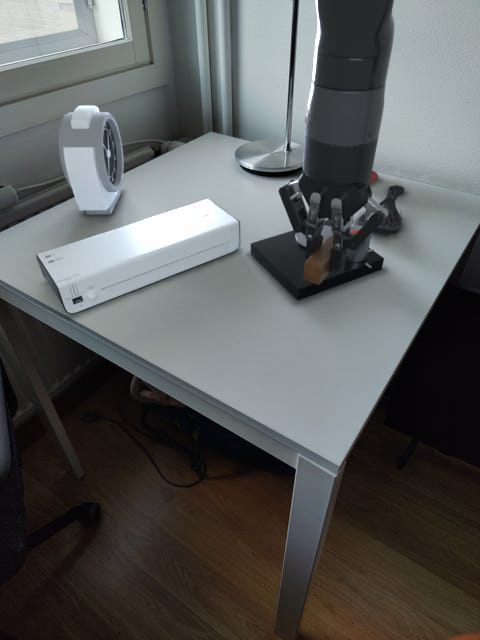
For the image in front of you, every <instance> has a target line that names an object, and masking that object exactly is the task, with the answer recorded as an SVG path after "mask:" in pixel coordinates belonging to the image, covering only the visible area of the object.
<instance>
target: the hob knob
mask: <svg viewBox="0 0 480 640" xmlns="http://www.w3.org/2000/svg"><path fill="white" fill-rule="evenodd" d="M362 227H363V226H358V225H351V234H357V232H358V231H359V230H360V229H361V228H362ZM372 234H373V232H372V233H371V234H370V235H369V236H368V237H367V238H366V242H365V244H364V245H363V246H362V247H361V249H360V250H359V251H358V252H357V253H356V255H355V256H354V257H353V258H352V259H351V260H349V261H351V262H363V261H365V260H366V259H367V255H368V250H369V248H370V245H371V239H372V236H373V235H372ZM347 260H348V259H347Z"/></svg>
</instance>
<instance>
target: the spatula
mask: <svg viewBox="0 0 480 640" xmlns="http://www.w3.org/2000/svg"><path fill="white" fill-rule="evenodd" d="M365 242H366V240H365V241H364V242H363V243H362V244H361V245H360V246H359V247H358V248H357V249H356V250H350V249H347V253H346V259H348V260H351V259H352V258H353V257H354V256H355V255H356V253H357V252H358V251H359V250H360V249H361V247H362V246H363V245H364V244H365ZM332 247H333V235H332V236H331V237H329V238H328V239H327V240H326V241H325V242H324V243H323V244H322V245H321V246H320V247H319V248H318V249H317V251H316V252H315V253H313V254H312V256H311V257H310V258H309V259H308V260H307V261H306V262H305V267H304V277H303V279H304V280H307V281H309V282H312V283H315V284H318V285H319V284H320V283H321V282H322V281H323V280H324V279H325V278H326V276H327V275H328V274H329V272H328V271H329V264H330V253H331V248H332Z"/></svg>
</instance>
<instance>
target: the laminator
mask: <svg viewBox="0 0 480 640" xmlns="http://www.w3.org/2000/svg"><path fill="white" fill-rule="evenodd" d="M240 246H241V221H240V220H239V219H238V218H236V217H235V216H233V215H232V214H231V213H229V212H228V211H227V210H225V209H224V208H223V207H221V206H220V205H218V204H217V203H215V202H214V201H213V200H211V199H210V198H207V199H204V200H200V201H199V202H194V203H192V204H188V205H186V206H183V207H179V208H177V209H173V210H170V211H167V212H164V213H161V214H158V215H153V216H152V217H148V218H145V219H142V220H139V221H136V222H133V223H129V224H127V225H124V226H120V227H116V228H114V229H112V230H107V231H105V232H102V233H99V234H96V235H93V236H90V237H87V238H82V239H80V240H77V241H74V242H71V243H68V244H64V245H61V246H59V247H55V248H52V249H49V250H46V251H43V252H40V253H37V254H35V258H36V260H37V263H38V266H39V268H40V272H41V274H42V276H43V278H44V279H45V280H46V281H47V283H48V285H49V286H50V288H51V289H52V291H53V294H55V296H56V297H57V299H58V301H59V302H60V304H61V306H62V308H63V310H64V312H65V313H66V314H69V315H76V314H79V313H82V312H84V311H87V310H90V309H93V308H94V307H97V306H99V305H102V304H105V303H107V302H110V301H113V300H115V299H118V298H120V297H123V296H125V295H128V294H130V293H133V292H135V291H139V290H141V289H143V288H147V287H149V286H151V285H154V284H156V283H158V282H161V281H164V280H167V279H169V278H171V277H174V276H177V275H180V274H181V273H185V272H187V271H190V270H192V269H194V268H198V267H200V266H202V265H205V264H209V263H210V262H213V261H215V260H218V259H220V258H223V257H225V256H229V255H231V254H233V253H235V252H236V251H238V250H239V248H240Z"/></svg>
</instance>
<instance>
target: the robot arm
mask: <svg viewBox="0 0 480 640" xmlns="http://www.w3.org/2000/svg"><path fill="white" fill-rule="evenodd" d="M394 3H395V0H315V9H316V17H317V30H316V38H315V44H314V52H313V53H314V54H313V67H312V77H311V79H312V80H311V86H310V87H311V88H310V90H309V95H308V96H309V97H308V100H307V107H306V108H307V109H306V114H305V119H304V120H305V121H304V122H305V131H304V143H303V154H302V155H303V156H302V166H301V167H302V173H301V175H300V177H298V180H294V179H289V180H288V181H287V182H285V183H284V184H283V185H281V187H279V189H278V195H279V197H280V200H281V202H282V204H283V207H284V210H285V212H286V216H287V217H288V220H289V222H290V225H291V228H292V231H293V230H294V231H295V232H296V233H300V232H301V233H302V234H304V235H305V238H306V240H307V243H306V253H305V258H306V260H308V259H309V258H310V257H311V256H312V254H313V253H315V252H316V251H317V249H318V248H319V247H320V246H321V245H322V243H323V235H321V232H322V231H323V227H324V222H325V220H328V219H329V220H331V221H332V229H331V231H332V232H333V247H332V248H331V253H330V264H329V271H328V272H329V273H332V274H334V273H335V272H336V271H339V270H340V268H341V267H342V266H343V265H344V263H345V259H346V253H347V249H350V250H356V249H357V248H358V247H359V246H360V245H361V244H362V243H363V242H364V241H365V240H366V238H367V237H368V236H369V235H370V234H371V233H372V234H373V233H374V232H375V231H374V230H375V229H376V228H377V227H378V226H379V225H380V224H381V223H382V222H383V220H384V219H385V218H386V217H387V216H388V214H389V213H390V212H391V208H390V207H389V206H388V205H382V206H381V205H380V203H379V202H378V201H376V200H375V199H374V198H373V190H372V187H371V184H370V179H371V174H372V170H373V169H374V164H375V157H376V151H377V146H378V142H379V136H380V133H381V132H380V131H381V127H382V120H383V117H384V116H383V115H384V108H385V97H386V95H385V93H386V83H387V80H388V79H387V78H388V72H389V67H390V63H391V57H392V51H393V46H394V40H395V39H394V38H395V19H394V15H393V9H394ZM303 198H304V199H303ZM304 200H305V202H306V204H307V207H308V209H307V207H306V205H305V202H304ZM363 208H364V209H365V212H364V213H365V214H364V213H363V214H364V220H365V222H367V223H366V224H365V225H364V226H363V227H362V228H361V229H360V230H359V231H358V232H357V234H351V227H352V226H353V222H354V216H355V214H357V213H358V212H359V211H360V210H361V209H363Z"/></svg>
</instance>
